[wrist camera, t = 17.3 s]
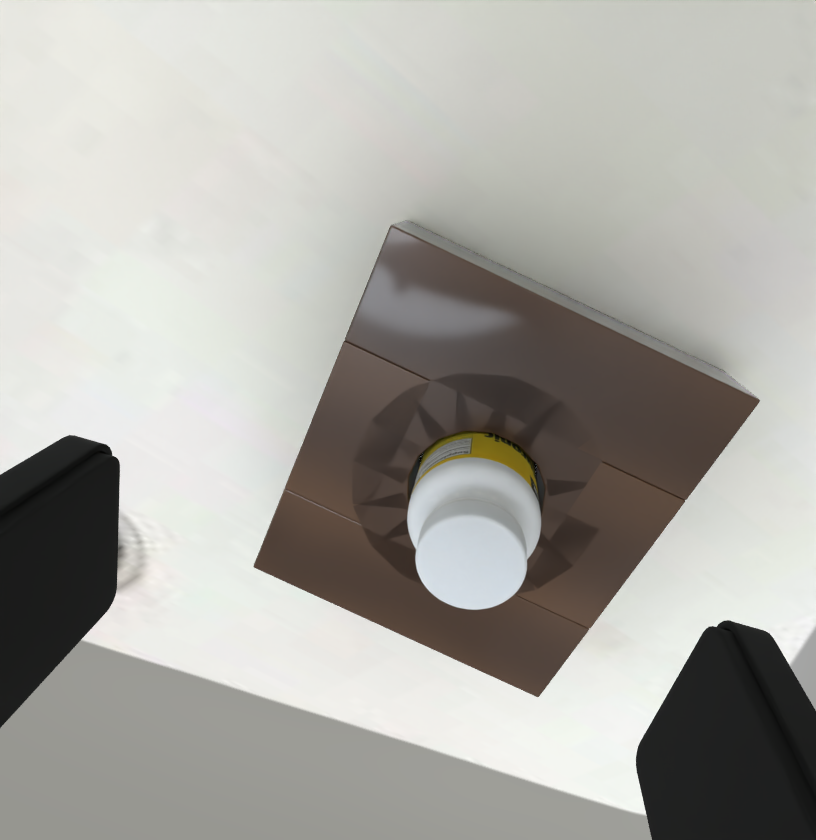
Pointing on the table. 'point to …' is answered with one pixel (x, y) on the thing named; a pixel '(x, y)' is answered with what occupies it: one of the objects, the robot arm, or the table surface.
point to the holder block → (508, 418)
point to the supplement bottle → (474, 519)
